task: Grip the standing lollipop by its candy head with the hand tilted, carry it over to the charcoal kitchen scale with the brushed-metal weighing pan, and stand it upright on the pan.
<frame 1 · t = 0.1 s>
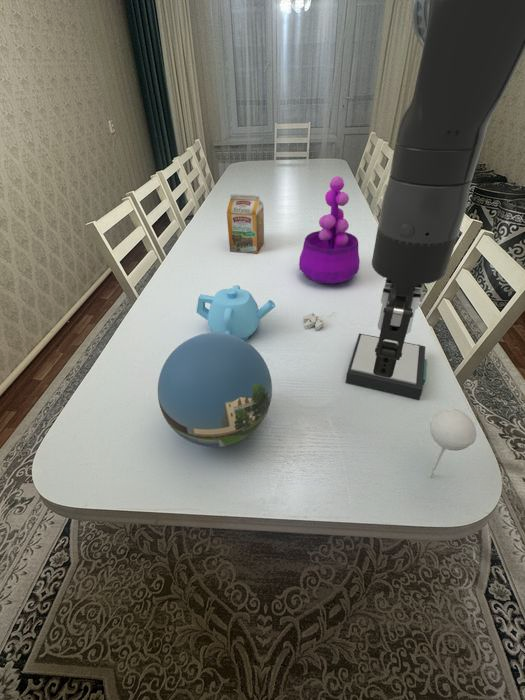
hand: (386, 353, 46), 25 cm above the table, tool pointing down, fingers open, 8 cm apart
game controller: (322, 321, 96), on the table
scale: (385, 369, 81), on the table
decorative sphere: (221, 426, 69), on the table
decorative plant: (327, 277, 116), on the table
lollipop: (429, 477, 60), on the table
milk carton: (247, 247, 137), on the table
teapot: (237, 331, 94), on the table
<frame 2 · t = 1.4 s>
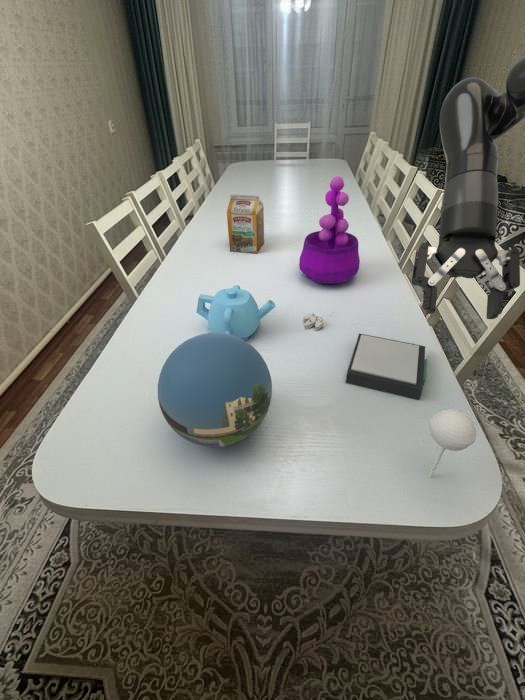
hand: (461, 315, 53), 24 cm above the table, tool tilted 45°, fingers open, 8 cm apart
nothing on the table moved.
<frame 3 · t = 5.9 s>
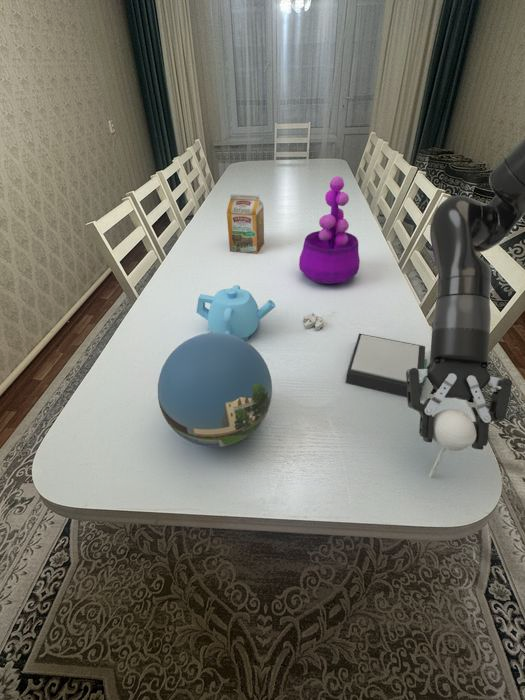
hand: (452, 444, 51), 11 cm above the table, tool tilted 45°, fingers closed on lollipop, 6 cm apart
lollipop: (429, 477, 60), on the table, touching gripper
everything else where it was.
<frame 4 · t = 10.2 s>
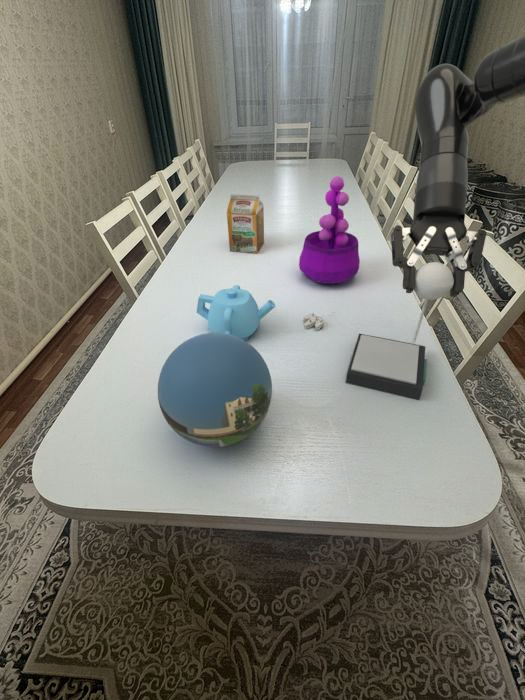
hand: (432, 293, 56), 25 cm above the table, tool tilted 45°, fingers closed on lollipop, 6 cm apart
lollipop: (413, 342, 65), point 14 cm above the table, touching gripper
everything else where it was.
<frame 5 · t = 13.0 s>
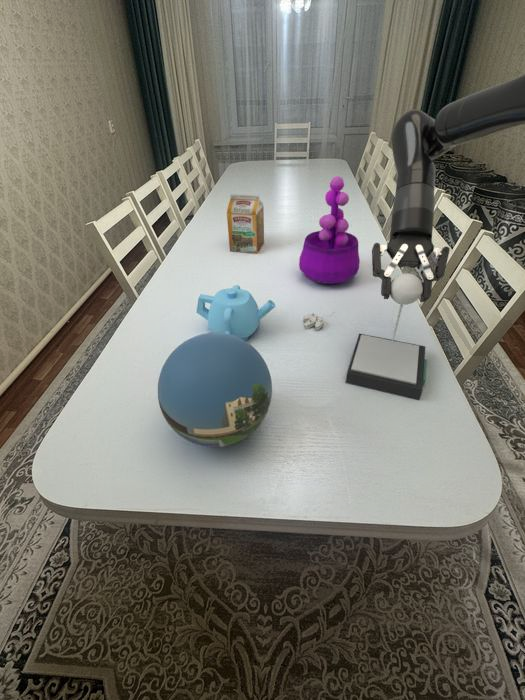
hand: (405, 299, 68), 19 cm above the table, tool tilted 45°, fingers closed on lollipop, 6 cm apart
lollipop: (392, 340, 76), point 8 cm above the table, touching gripper
everything else where it was.
when the fingers open (14 cm above the table, at t = 14.9 s): lollipop stays where it is, resting on scale.
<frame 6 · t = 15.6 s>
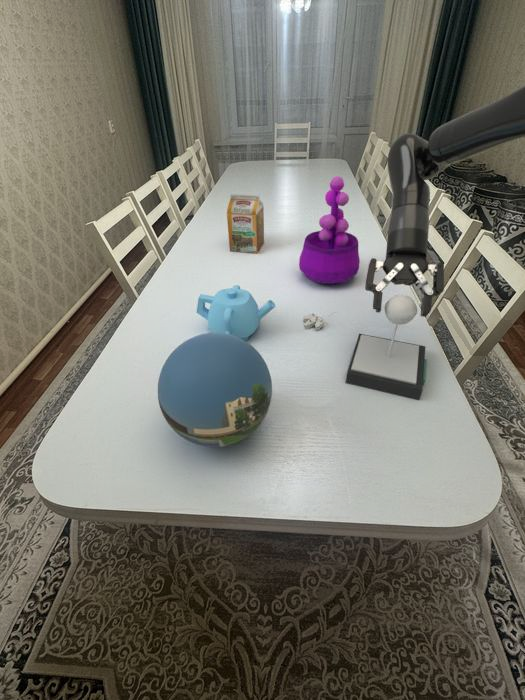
hand: (400, 313, 70), 16 cm above the table, tool tilted 45°, fingers open, 8 cm apart
lollipop: (388, 357, 79), point 3 cm above the table, touching scale
everything else where it was.
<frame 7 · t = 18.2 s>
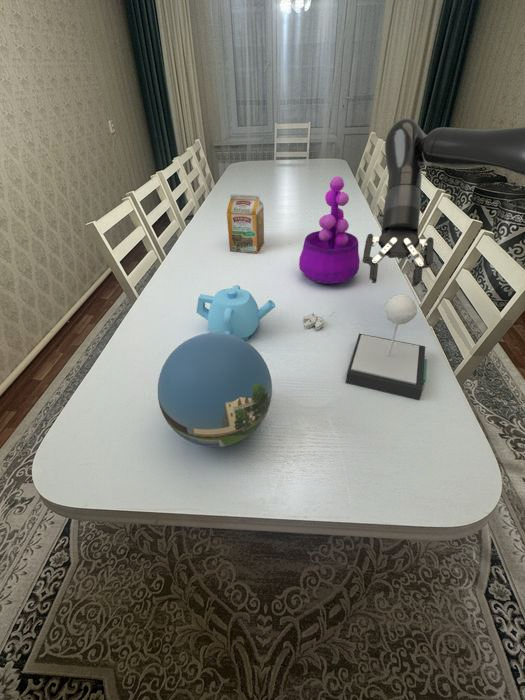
hand: (394, 283, 78), 16 cm above the table, tool tilted 45°, fingers open, 8 cm apart
nothing on the table moved.
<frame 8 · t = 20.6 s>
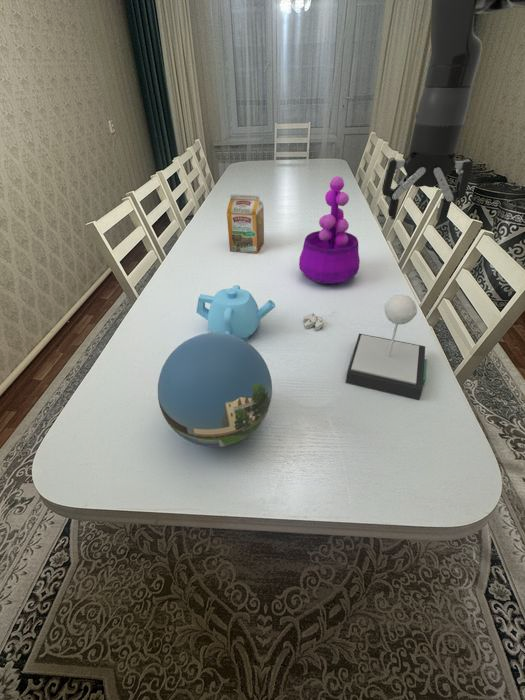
hand: (415, 219, 69), 30 cm above the table, tool pointing down, fingers open, 8 cm apart
nothing on the table moved.
at the end: lollipop inside the target area on the scale (0.2 cm from its centre), point 3.3 cm above the scale's base; lollipop tilted 0°; the gripper is holding nothing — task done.
